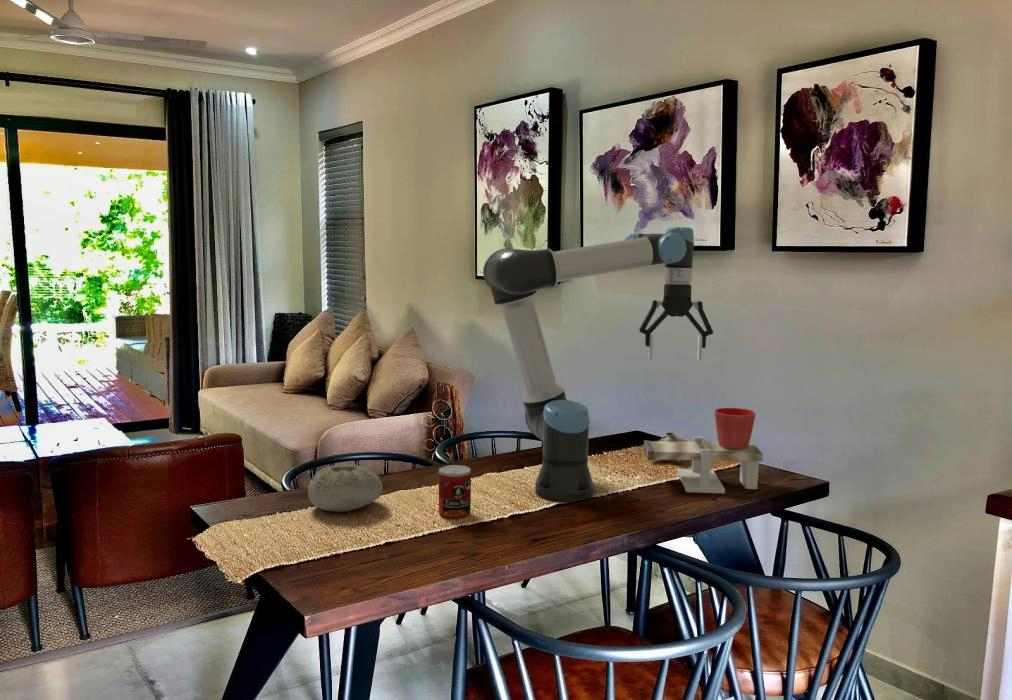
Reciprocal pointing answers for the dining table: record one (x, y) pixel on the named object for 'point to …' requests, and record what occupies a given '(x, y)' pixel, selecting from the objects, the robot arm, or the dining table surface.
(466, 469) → the canned food
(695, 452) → the beam
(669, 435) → the ceramic sculpture
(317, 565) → the dining table surface
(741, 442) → the flower pot
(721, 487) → the stand
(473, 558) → the dining table surface
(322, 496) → the decorative shell
